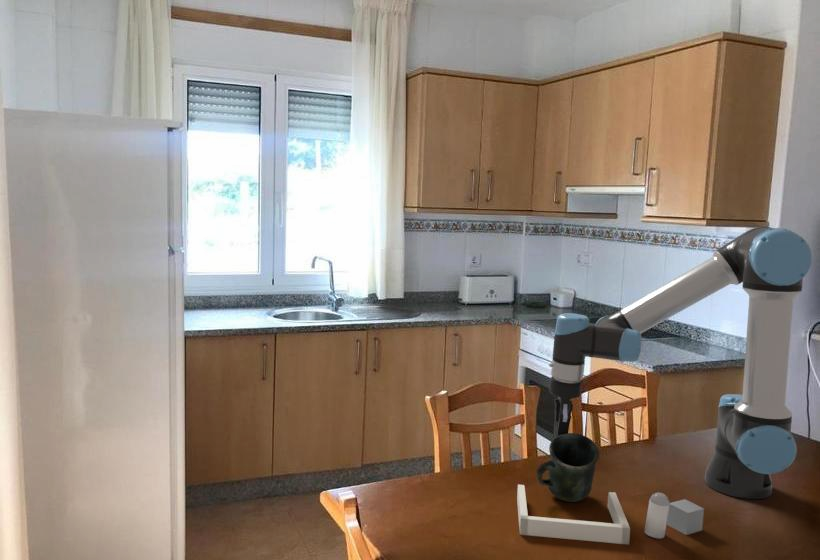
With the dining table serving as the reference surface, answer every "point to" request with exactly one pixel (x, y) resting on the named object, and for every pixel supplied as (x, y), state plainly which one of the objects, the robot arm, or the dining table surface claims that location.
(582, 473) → the mug
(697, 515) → the grey box
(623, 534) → the corral
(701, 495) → the dining table surface
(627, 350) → the robot arm
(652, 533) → the cylinder
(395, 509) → the dining table surface
